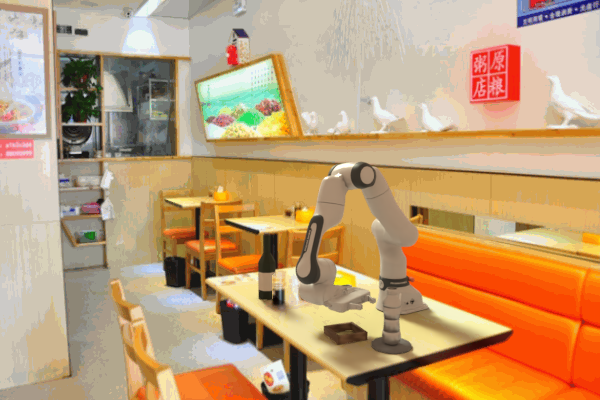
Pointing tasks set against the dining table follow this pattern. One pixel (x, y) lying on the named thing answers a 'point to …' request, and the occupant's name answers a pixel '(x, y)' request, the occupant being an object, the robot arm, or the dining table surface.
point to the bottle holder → (347, 338)
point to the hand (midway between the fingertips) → (368, 304)
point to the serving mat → (391, 346)
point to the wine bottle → (265, 270)
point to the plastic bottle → (391, 317)
